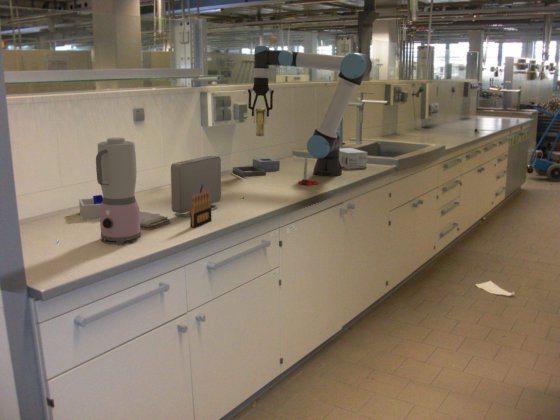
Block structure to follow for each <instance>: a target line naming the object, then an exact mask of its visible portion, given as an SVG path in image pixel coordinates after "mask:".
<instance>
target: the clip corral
mask: <svg viewBox="0 0 560 420" xmlns="http://www.w3.org/2000/svg"><path fill="white" fill-rule="evenodd" d="M78 202H79V203H78V205H79V214H80V215H81V217H82V220H90V219H91V220H93V219H100V206H101V204H94V199H93V197H92V198H91V197H90V198H81V199H80V198H79V199H78Z"/></svg>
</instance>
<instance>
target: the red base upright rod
mask: <svg viewBox="0 0 560 420" xmlns="http://www.w3.org/2000/svg"><path fill="white" fill-rule="evenodd" d="M303 167H304V169H303V178H302V179H301V180H298V181H297V184H298V185H303V186H311V185H315V186H316V185H318V184H319V182H318V181H316V180H310V179H309V180H308V179H307V176H308V175H307V171H308V169H307V168H308V158H307V157H306V158H304V165H303Z"/></svg>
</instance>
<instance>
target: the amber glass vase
mask: <svg viewBox="0 0 560 420" xmlns="http://www.w3.org/2000/svg"><path fill="white" fill-rule="evenodd" d="M255 110H256V118H255V137H264V136H265V110H267V109H266V108H255Z"/></svg>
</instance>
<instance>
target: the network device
mask: <svg viewBox="0 0 560 420" xmlns="http://www.w3.org/2000/svg"><path fill="white" fill-rule="evenodd" d="M221 162H222V160H221V156H217V155H207V156H201V157H196V158H192V159H187V160H181V161H177V162H173V163H171V165H170V183H171V185H170V186H171V187H170V188H171V189H170V190H171V191H170V192H171V211H172V212H173V213H175V214H174V215H175V216H177V217H182V218H190V214H185V213H188V212H191V204H192V195H193V193H194V195H195V194H196V192H197V194H198V192H199V191H200V194H201V191H203V194H204V190H206V192H207V189H208V190H209V196H210V207H211V212H212V211H215V210H218V209H219V206H218V205H217V204H216V203H218V202H221V199H222V177H221V176H222V175H221V173H222V167H221V165H222V164H221ZM215 204H216V205H215Z"/></svg>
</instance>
